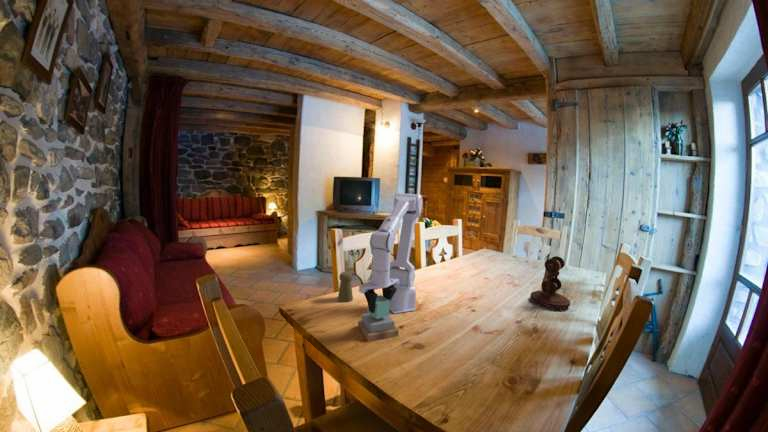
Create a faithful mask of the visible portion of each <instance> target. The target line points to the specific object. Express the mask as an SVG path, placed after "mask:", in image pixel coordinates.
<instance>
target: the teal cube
mask: <svg viewBox="0 0 768 432" xmlns="http://www.w3.org/2000/svg"><path fill="white" fill-rule="evenodd" d="M367 313H369V314H370V315H371V316H373V317H374V318H376V319H378V318H382V317H385V316H390V300H388V299H387V298H385V297H383V295H381V294H380V295H379V294H378V296H377V299H376V303H375V311H374V313H371V312H370V311H369V307H368V306H367Z"/></svg>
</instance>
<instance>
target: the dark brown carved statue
mask: <svg viewBox="0 0 768 432" xmlns="http://www.w3.org/2000/svg"><path fill="white" fill-rule="evenodd" d="M565 265H566V263H565V261H564V259H563V258H562V257H561V256H557V255H556V256H553V257H551V258H547V259H545V262H544V265H543V266H544V267H545V269H544V270H545V271H544V275H543V278H542V280H541V288H540V289H541V290H540V289H538V290H535V291H532V292H531V293H530V298H531V300H532V303H538V304H540V305H544V306H547V307H551V308H556V310H557V311H558V312H559V311H560V310H561V309H562V308H563V309H564V308H568V307H569V308H570V306H571V301H570V299H569V298H567V297H566V296H564V295H562V294H560V293H557V291H559V290H561V288H562V286H563V285H562V281H561V280H560V279H559V278H558V277H559V276H560V271H561V270H562V269H563V268H564V266H565Z"/></svg>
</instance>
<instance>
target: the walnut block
mask: <svg viewBox="0 0 768 432" xmlns="http://www.w3.org/2000/svg"><path fill="white" fill-rule="evenodd" d="M357 327H358V328H359V330H360V331H361V333H362V334H363V336H364V337H365V339H366V340H367V342H373V341H374V342H375V341H379V340H384V339H391V338H396V337H398V336H399V330H398V328H397V327H396V326H395V325H394V329H391V330H385V331H380V332H374V333H370V332H369V330H368V329H367V328H366V326H365V325H364V324H363V322H362V319H361V320H358V323H357Z"/></svg>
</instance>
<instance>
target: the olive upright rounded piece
mask: <svg viewBox="0 0 768 432" xmlns="http://www.w3.org/2000/svg"><path fill="white" fill-rule="evenodd" d="M353 278H354V277H353V273H351V272H349V271H343V272H341V273H340V274H339V280H340V284H339V289H338V290H339V291H338V295H337V301H339V302H341V303H350V302H352V301H354V298H353V297H354V295H353V287H352V281H353Z"/></svg>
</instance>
